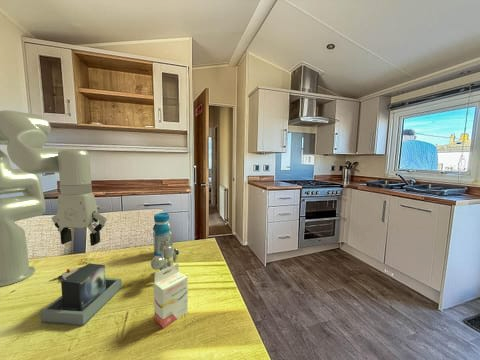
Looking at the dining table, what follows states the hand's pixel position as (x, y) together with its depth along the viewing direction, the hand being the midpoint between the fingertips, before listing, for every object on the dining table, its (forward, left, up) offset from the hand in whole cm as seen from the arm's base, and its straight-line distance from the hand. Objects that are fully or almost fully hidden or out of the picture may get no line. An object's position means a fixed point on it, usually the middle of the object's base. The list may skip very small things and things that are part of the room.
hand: (81, 243), depth 66 cm
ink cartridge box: (+30, -3, -21) cm, 37 cm away
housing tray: (0, 0, -20) cm, 20 cm away
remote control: (-17, +15, -21) cm, 31 cm away
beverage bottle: (+10, +35, -21) cm, 42 cm away
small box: (+1, -1, -20) cm, 20 cm away
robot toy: (+20, +16, -21) cm, 33 cm away
